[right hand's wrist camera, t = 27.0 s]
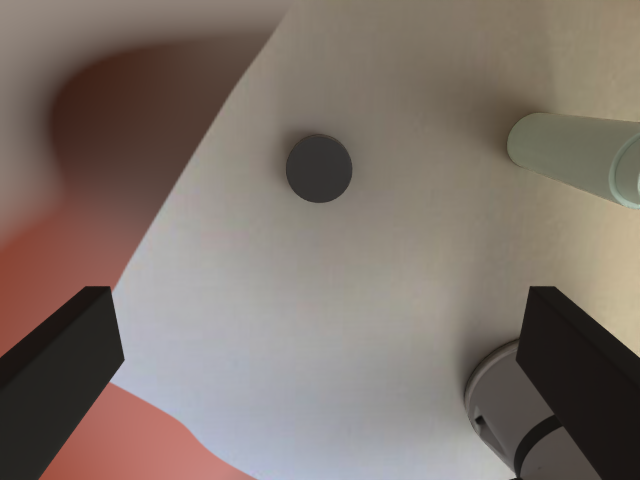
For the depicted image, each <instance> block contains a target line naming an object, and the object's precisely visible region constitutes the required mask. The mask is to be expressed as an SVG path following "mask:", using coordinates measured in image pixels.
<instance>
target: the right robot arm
mask: <svg viewBox="0 0 640 480" xmlns="http://www.w3.org/2000/svg"><path fill="white" fill-rule="evenodd" d="M124 360H125V359H124V354H123V349H122V344H121V339H120V334H119V329H118V324H117V319H116V314H115V309H114V304H113V299H112V294H111V289H110V286H86V287H84V288H83V289H82V290H81V291H79V292H78V293H77V294H76V295H75V296H73V297H72V298H71V299H70V300H69V301H68V302H66V303H65V304H64V305H63V306H61V307H60V308H59V309H58V310H57V311H56V312H54V313H53V314H52V315H51V316H50V317H48V318H47V319H46V320H45V321H44V322H42V323H41V324H40V325H39V326H38V327H36V328H35V329H34V330H33V331H32V332H30V333H29V334H28V335H27V336H26V337H24V338H23V339H22V340H21V341H20V342H19V343H17V344H16V345H15V346H14V347H13V348H11V349H10V350H9V351H8V352H7V353H5V354H4V355H3V356H2V357H1V358H0V480H38V479H39V478H40V477H41V475H42V474H43V472H44V471H45V470H46V468H47V467H48V465H49V464H50V463H51V461H52V460H53V459H54V457H55V456H56V454H57V453H58V452H59V450H60V449H61V447H62V446H63V445H64V443H65V442H66V441H67V439H68V438H69V436H70V435H71V434H72V432H73V431H74V430H75V428H76V427H77V425H78V424H79V423H80V421H81V420H82V418H83V417H84V416H85V414H86V413H87V411H88V410H89V409H90V407H91V406H92V405H93V403H94V402H95V400H96V399H97V398H98V396H99V395H100V394H101V392H102V391H103V389H104V388H105V387H106V385H107V384H108V382H109V381H110V380H111V378H112V377H113V376H114V374H115V373H116V371H117V370H118V369H119V367H120V366H121V365H122V363H123V362H124ZM464 401H465V409H466V412H467V415H468V417H469V420H470V422H471V424H472V426H473V428H474V430H475V431H476V433H477V434H478V435H479V437H480V438H481V439H482V441H483V442H484V443H485V444H486V445H487V446H488V447H489V448H490V449H491V450H492V451H493V452H494V453H495V454H496V455H497V456H498V457H499V458H500V459H501V460H502V461H503V462H504V463H505V464H506V465H507V466H508V467H509V468H510V469H511V470H512V471H513V472H514V473H515V475H516V477H517V478H514V479H511V480H640V358H639V357H638V356H637V355H636V354H635V353H633V352H632V351H631V350H630V349H629V348H627V347H626V346H625V345H624V344H623V343H621V342H620V341H619V340H618V339H617V338H616V337H614V336H613V335H612V334H611V333H610V332H608V331H607V330H606V329H605V328H604V327H602V326H601V325H600V324H599V323H598V322H596V321H595V320H594V319H593V318H592V317H590V316H589V315H588V314H587V313H586V312H584V311H583V310H582V309H581V308H580V307H579V306H577V305H576V304H575V303H574V302H573V301H571V300H570V299H569V298H568V297H567V296H565V295H564V294H563V293H562V292H561V291H559V290H558V289H557V288H556V287H555V286H530V289H529V294H528V299H527V304H526V309H525V314H524V319H523V324H522V329H521V334H520V339H519V340H516V341H513V342H511V343H508V344H506V345H504V346H502V347H500V348H499V349H497V350H495V351H494V352H493V353H491V354H490V355H489V356H487V357H486V358H485V359H484V360H483V361H482V362H481V363H480V364H479V365H478V367H477V368H476V369H475V370H474V372H473V373H472V375H471V377H470V379H469V381H468V384H467V387H466V390H465V399H464Z"/></svg>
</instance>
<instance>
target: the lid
mask: <svg viewBox="0 0 640 480" xmlns="http://www.w3.org/2000/svg"><path fill="white" fill-rule="evenodd" d="M286 174H287V179H288V182H289V184H290V186H291V188H292V189H293V191H294V192H295V193H296V194H297V195H298V196H300V197H301V198H303V199H305V200H307V201H310V202H315V203H324V202H329V201H331V200H334V199H336V198H337V197H339V196H340V195H341V194H342V193H343V192H344V191H345V190H346V188H347V187H348V185H349V183H350V180H351V177H352V163H351V159H350V157H349V154H348V152H347V150H346V149H345V147H344V146H343V145H342V144H341V143H340V142H339V141H338V140H336V139H334V138H332V137H330V136H327V135H312V136H309V137H306V138H304V139H302V140H301V141H300V142H298V143H297V144H296V145H295V147H294V148H293V150H292V151H291V153H290V155H289V158H288V161H287V165H286Z"/></svg>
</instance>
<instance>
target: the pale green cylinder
mask: <svg viewBox="0 0 640 480" xmlns="http://www.w3.org/2000/svg"><path fill="white" fill-rule="evenodd" d="M507 150H508V154H509V156H510V158H511V160H512V161H513V162H514V163H515V164H517V165H518V166H521V167H523V168H526V169H528V170H531V171H534V172H536V173H539V174H541V175H544V176H547V177H549V178H552V179H555V180H557V181H560V182H562V183H565V184H568V185H570V186H573V187H575V188H578V189H581V190H583V191H586V192H589V193H591V194H594V195H596V196H599V197H602V198H604V199H607V200H610V201H612V202H615V203H617V204H620V205H623V206H625V207H628V208H632V209H640V123H639V122H629V121H619V120H610V119H600V118H590V117H580V116H570V115H561V114H551V113H541V112H540V113H532V114H529V115H527V116H525V117H523V118H522V119H520V120H519V121H518V122H517V123H516V124H515V125H514V127H513V128H512V130H511V131H510V134H509V136H508V140H507Z"/></svg>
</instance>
